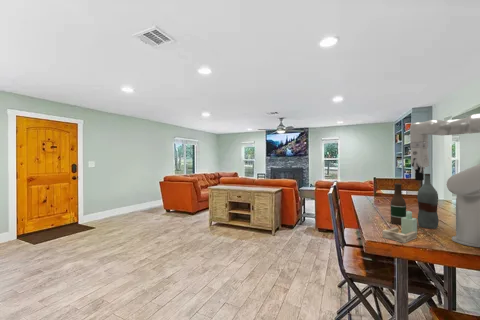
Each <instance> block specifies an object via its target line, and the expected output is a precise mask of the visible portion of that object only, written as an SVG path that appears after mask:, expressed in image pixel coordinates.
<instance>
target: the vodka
mask: <svg viewBox="0 0 480 320" xmlns="http://www.w3.org/2000/svg"><path fill="white" fill-rule="evenodd" d="M423 182H424V183H423V184H422V186H421V187H420V188H419V189H418V190H417V195H416V196H417V197H416V198H417V206H418V212H417V218H416V219H417V225H418V226H419V227H421V228H424V229H430V230H431V229H433V230H434V229H435V230H436V229H437V228H438V226H439V221H440V220H439V214H438V205H439V193H438V190H436V188H435V187H434V186H433V184H432V183H431V173H424V180H423Z"/></svg>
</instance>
